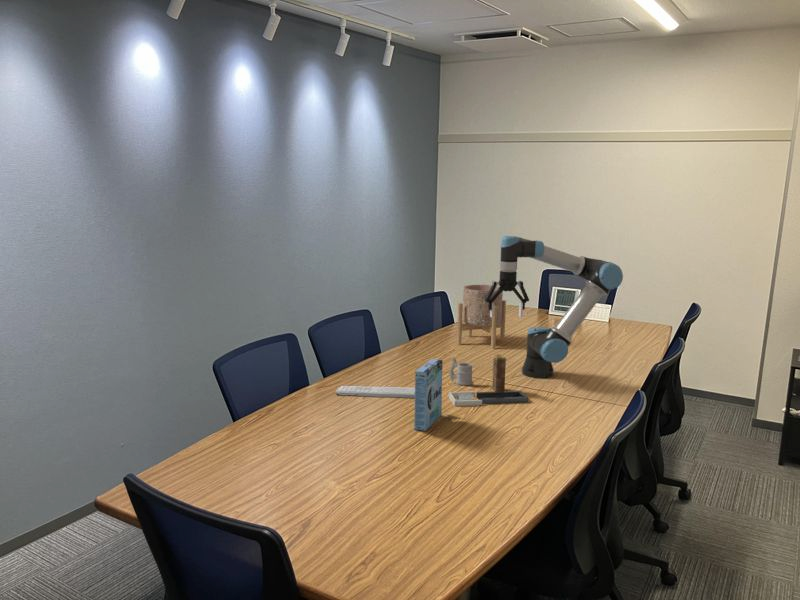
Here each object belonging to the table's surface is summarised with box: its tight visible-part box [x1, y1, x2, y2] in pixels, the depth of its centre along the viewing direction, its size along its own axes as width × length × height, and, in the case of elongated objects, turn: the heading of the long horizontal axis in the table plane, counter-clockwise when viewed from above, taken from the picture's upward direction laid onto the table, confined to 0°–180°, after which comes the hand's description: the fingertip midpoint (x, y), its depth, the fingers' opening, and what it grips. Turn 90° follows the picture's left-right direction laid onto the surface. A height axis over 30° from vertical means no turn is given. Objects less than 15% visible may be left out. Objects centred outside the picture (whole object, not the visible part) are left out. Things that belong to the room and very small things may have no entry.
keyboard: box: [335, 385, 415, 399], centre depth 294 cm, size 44×12×2 cm, turn 87°
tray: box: [447, 390, 483, 407], centre depth 282 cm, size 12×12×3 cm
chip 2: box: [463, 391, 474, 400], centre depth 282 cm, size 3×4×4 cm
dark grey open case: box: [475, 390, 529, 405], centre depth 284 cm, size 20×10×3 cm, turn 99°
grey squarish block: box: [456, 391, 466, 401], centre depth 281 cm, size 3×4×4 cm
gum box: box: [413, 358, 443, 432], centre depth 257 cm, size 20×5×23 cm, turn 158°
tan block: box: [491, 353, 507, 392], centre depth 295 cm, size 4×5×17 cm
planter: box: [456, 284, 507, 350], centre depth 383 cm, size 22×23×32 cm
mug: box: [449, 357, 474, 387], centre depth 306 cm, size 8×12×12 cm, turn 55°
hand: (506, 316), depth 303 cm, fingers open, 13 cm apart
